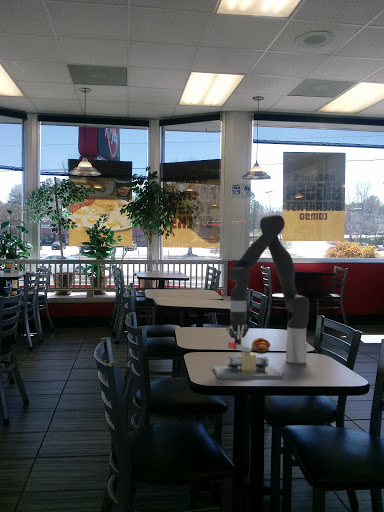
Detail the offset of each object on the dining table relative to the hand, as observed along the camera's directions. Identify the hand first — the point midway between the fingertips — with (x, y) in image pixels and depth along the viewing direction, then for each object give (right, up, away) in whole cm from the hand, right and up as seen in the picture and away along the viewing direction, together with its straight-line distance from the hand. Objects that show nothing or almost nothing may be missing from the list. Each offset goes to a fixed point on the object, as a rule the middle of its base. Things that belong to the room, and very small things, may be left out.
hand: (237, 347), depth 213 cm
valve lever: (0, 0, -6) cm, 6 cm away
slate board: (+3, -10, -10) cm, 15 cm away
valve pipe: (+3, -8, -10) cm, 14 cm away
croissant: (+17, -10, +43) cm, 47 cm away
